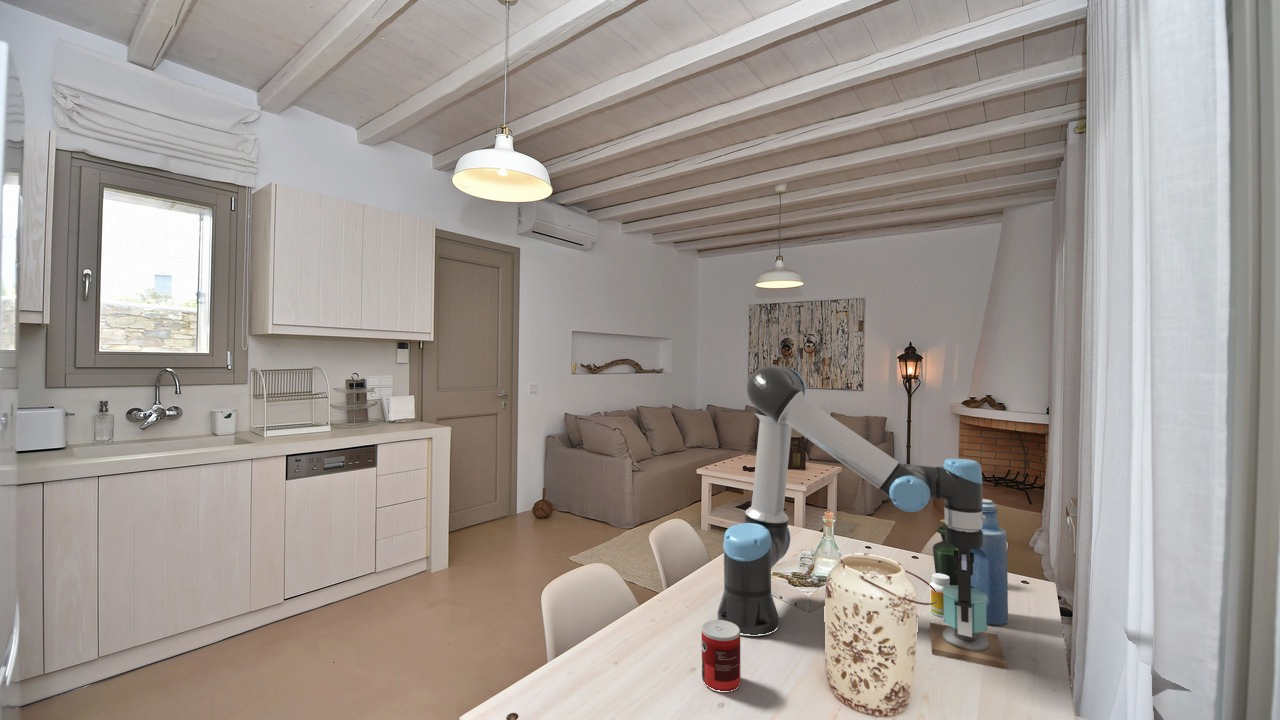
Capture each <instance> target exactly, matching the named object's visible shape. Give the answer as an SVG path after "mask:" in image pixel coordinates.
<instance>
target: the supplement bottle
mask: <svg viewBox="0 0 1280 720" xmlns="http://www.w3.org/2000/svg"><path fill="white" fill-rule="evenodd" d="M931 576H932V577H931V582H930V583H929V586H930V585H931V586H932V587H933V588H934V589H935V591H936V592H934V590H933V589H932V588H930V587H929V612H930V613H932V615H935V616H936V617H938V618H939V617H940V618H944V609H943V587H945V586H949V585H950V584H949V583H950V577H949V576H947V575H945V574H940V573H934V572H933V574H932V575H931ZM936 601H937V603H936V604H934V605H930V603H934V602H936Z"/></svg>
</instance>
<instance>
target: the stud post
mask: <svg viewBox="0 0 1280 720" xmlns="http://www.w3.org/2000/svg"><path fill="white" fill-rule="evenodd" d="M929 632H930V633H929V634H930V645H931V646H930V647H931V655H934V656H940V657H945V658H949V659H955V660H959V661H965V662H968V663H969V662H970V663H975V664H978V665H979V664H980V665H984V666H988V667H989V666H990V667H995V668H998V669H999V668H1000V669H1005V670H1008V665H1007V664H1008V663H1007V660H1006V657H1005V654H1004V651H1003V648H1002V645H1001V642H1000V639H999V636H998V634H996V633H991V632H987V631H985V632H978V633H974V632H973V633H972V637H969V636H964V635H960V634H958V630H957V628H956V629H955V628H953V627H951V626H949V625H948V624H946V625H945V624H940V623H934V622H929Z"/></svg>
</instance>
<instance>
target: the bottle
mask: <svg viewBox="0 0 1280 720" xmlns="http://www.w3.org/2000/svg"><path fill="white" fill-rule="evenodd" d="M982 515H985V517H986V519H982V528H981V530H982V532H983V546H982V547H981V548H978V549H970V552H974V564H973V575H972V576H971V586H973V587H974V589H977V590H979V591H981V592H983V593H985V594H986V595H987V601H986V614H987V626H993V627H996V626H1004V625H1007V624H1008V622H1009V600H1008V599H1009V597H1008V595H1009V591H1008V589H1009V587H1008V585H1009V584H1008V579H1009V578H1008V544H1007V543H1008V540H1007V539H1008V538H1007V537H1008V536H1007V535H1008V534H1007V530H1006V529H1004V528H1002V527H1000V526H999V525H1000V524H999V519H998V506H997V505H996V503H994V501H993V500H991V499H986V498H982Z"/></svg>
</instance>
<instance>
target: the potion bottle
mask: <svg viewBox="0 0 1280 720" xmlns="http://www.w3.org/2000/svg"><path fill="white" fill-rule="evenodd" d="M940 525H941V526H938V527H937V528H936V533H938V534H940V537H941V541H939V542H936V543H934V544H933V546H932V553H933V554H932V555H933V562H934V571H935V573H940V574H945V575H947V576H949V577H950V583H949V584H950V585H958V574H957V573H956V571H955V560H954V550H958V547H956V546H952V545H950V544H948V543H947V542H946V541H945V527H946V526H947V525H946V524H945V518H943V519H940Z"/></svg>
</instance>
